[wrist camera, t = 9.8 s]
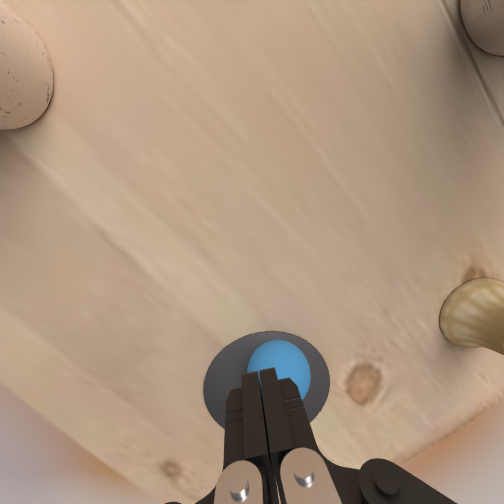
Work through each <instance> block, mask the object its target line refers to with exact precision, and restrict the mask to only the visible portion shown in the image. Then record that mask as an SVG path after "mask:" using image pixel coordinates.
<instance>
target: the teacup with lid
mask: <svg viewBox="0 0 504 504" xmlns="http://www.w3.org/2000/svg"><path fill="white" fill-rule="evenodd" d="M52 92H53V70H52V65H51V62H50V59H49V56H48V53H47V51H46V49H45V47H44V45H43V43H42V41H41V40H40V38H39V37H38V35H37V34H36V33H35V31H34V30H33V29H32V28H31V27H30V25H29V24H28V23H27V22H26V21H25V20H24V19H23V18H21V17H20V16H19V15H18V14H17V13H15V12H14V11H13V10H12V9H11V8H9V7H8V6H7V5H6V4H5V3H3V2H2V1H1V0H0V129H16V128H21V127H24V126H27V125H29V124H31V123H32V122H34V121H35V120H37V119H38V118H39V117H40V116H41V115H42V114H43V112H44V111H45V110H46V108H47V106H48V104H49V102H50V99H51V96H52Z"/></svg>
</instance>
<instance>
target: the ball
mask: <svg viewBox="0 0 504 504" xmlns="http://www.w3.org/2000/svg"><path fill="white" fill-rule="evenodd" d="M272 367H275V370H276V374H277V378H278V380H279V379H284V378H289V377H290V379H291V380H292V381H293V382H294V383H295V384H296V385H297V386H298V389H299V393H300V396H301V399H302V400H303V399H304V397H305V396H306V394H307V392H308V389H309V386H310V380H311V373H310V367H309V364H308V361H307V359H306V357H305V356H304V354H303V353H302V351H301V350H300V349H299V348H298V347H296V346H295V345H293V344H292V343H290V342H287V341H284V340H271V341H268V342H265V343H263V344H262V345H260V346H259V347H258V348H257V349H256V350H255V351H254V353H253V354H252V356H251V358H250V360H249V363H248V368H247V373H249V372H253V371H258V374H259V370H263V369H268V368H272ZM259 379H260V375H259ZM260 384H261V382H260Z"/></svg>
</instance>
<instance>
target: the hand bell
mask: <svg viewBox="0 0 504 504" xmlns="http://www.w3.org/2000/svg"><path fill="white" fill-rule="evenodd" d="M439 320H440V321H439V323H440V329H441V331H442V333H443V335H444V336H445V338H446V339H447V340H448V341H450V342H451V343H453V344H455V345H457V346H461V347H467V348H476V347H485V348H488V349H491V350H493V351H496V352H498V353H500V354H502V355H504V283H502V282H501V281H499V280H496V279H493V278H478V279H474V280H470V281H468V282H466V283H464V284H462V285H461V286H459V287H458V288H457V289H455V290H454V291H453V292H452V293H451V294H450V295H449V297H448V298H447V299H446V301H445V303H444V304H443V307H442V309H441V312H440V319H439Z"/></svg>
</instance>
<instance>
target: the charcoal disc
mask: <svg viewBox="0 0 504 504" xmlns="http://www.w3.org/2000/svg"><path fill="white" fill-rule="evenodd" d="M271 340H284V341H287V342H290V343H292V344H293V345H295V346H296V347H298V348H299V349H300V350H301V351H302V353H303V354H304V356H305V357H306V359H307V361H308V364H309V367H310V373H311V380H310V386H309V389H308V392H307V394H306V396H305V397H304V399H303V400H302V402H303V405H304V408H305V411H306V414H307V417H308V420H309V423H310V422H311V421H312V420H313V419H314V418H315V417H316V416H317V415H318V413H319V412H320V411H321V409H322V407H323V406H324V404H325V402H326V399H327V397H328V393H329V387H330V376H329V371H328V368H327V365H326V363H325V361H324V359H323V357H322V355H321V354H320V353H319V352H318V350H317V349H316V348H315V347H314V346H312V345H311V344H310V343H309V342H307V341H306V340H304V339H302V338H300V337H298V336H295V335H292V334H289V333H284V332H277V331H265V332H258V333H254V334H250V335H247V336H244V337H242V338H239V339H238V340H236V341H234V342H232V343H231V344H229V345H228V346H226V347H225V348H224V349H223V350H222V351H221V352H220V353H219V354H218V355H217V356H216V357H215V359H214V360H213V362H212V363H211V365H210V367H209V369H208V371H207V374H206V378H205V383H204V398H205V403H206V405H207V408H208V410H209V412H210V414H211V416H212V417H213V418H214V419H215V421H216V422H217V423H218V424H219V425H220V426H222V427H223V428H224V429H225V415H226V400H227V397H228V395H229V393H230V391H231V390H232V389H236V388H241V387H242V380H241V374H244V373H247V368H248V363H249V360H250V358H251V356H252V354H253V353H254V351H255V350H256V349H257V348H258V347H259V346H260V345H262V344H263V343H265V342H268V341H271Z"/></svg>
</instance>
